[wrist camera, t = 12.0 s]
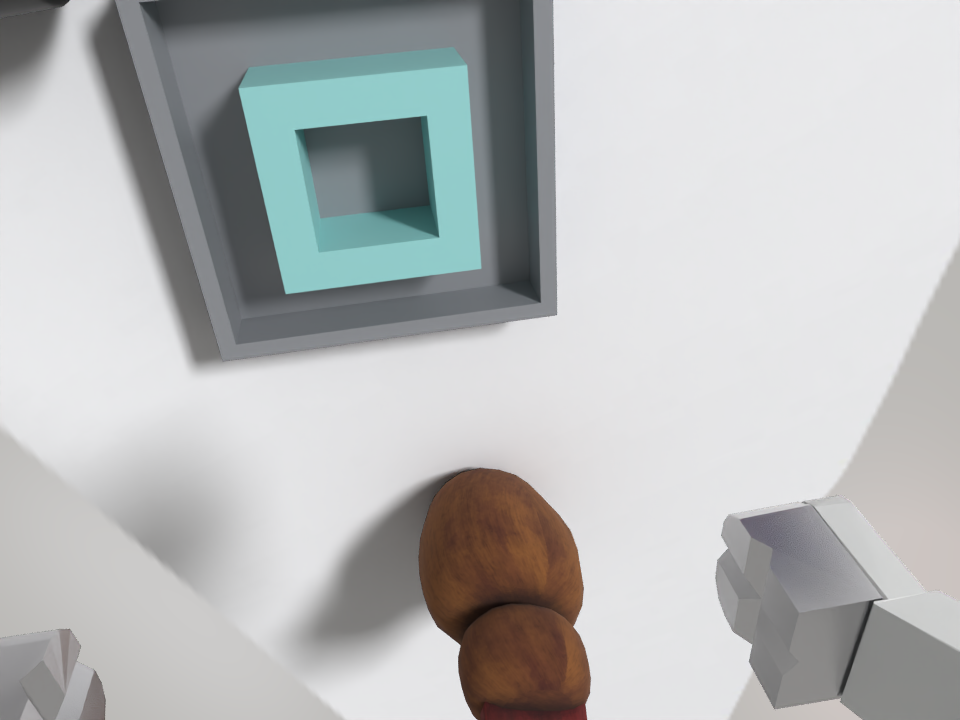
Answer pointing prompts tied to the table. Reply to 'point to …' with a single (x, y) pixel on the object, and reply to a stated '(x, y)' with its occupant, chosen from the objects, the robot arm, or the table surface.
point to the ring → (356, 99)
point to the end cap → (27, 6)
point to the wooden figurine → (506, 597)
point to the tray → (351, 160)
